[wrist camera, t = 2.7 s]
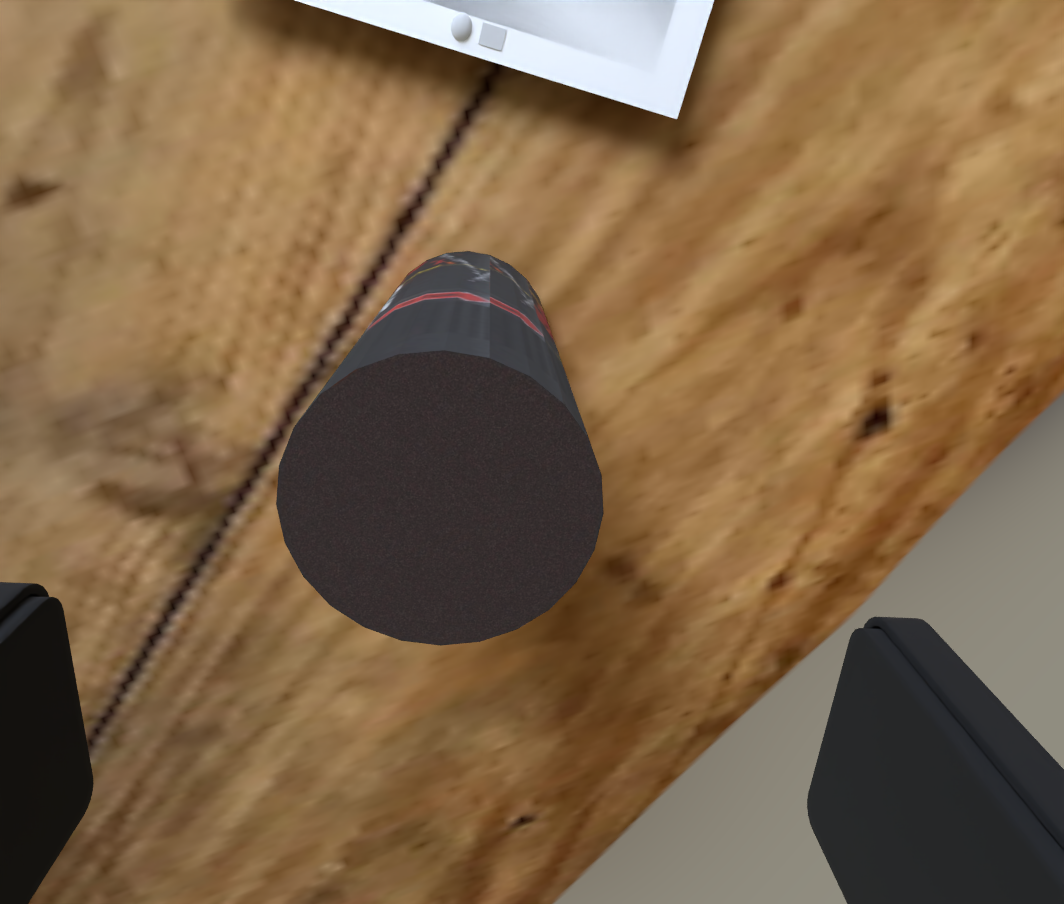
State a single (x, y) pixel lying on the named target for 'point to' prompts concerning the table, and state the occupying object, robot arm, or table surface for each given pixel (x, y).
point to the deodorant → (444, 464)
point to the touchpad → (561, 39)
